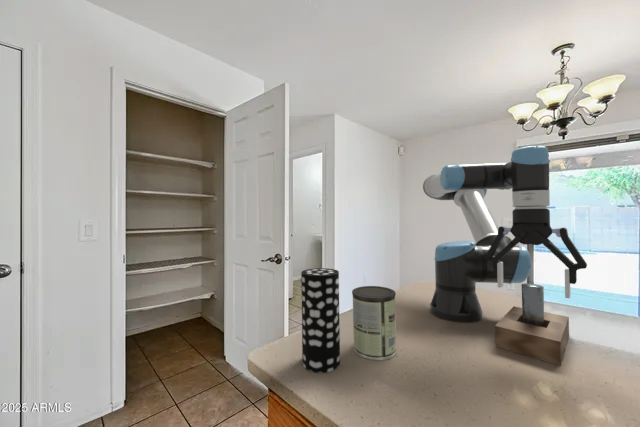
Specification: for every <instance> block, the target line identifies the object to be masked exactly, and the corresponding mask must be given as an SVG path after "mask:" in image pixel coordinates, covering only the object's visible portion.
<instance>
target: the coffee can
mask: <svg viewBox="0 0 640 427" xmlns="http://www.w3.org/2000/svg"><path fill="white" fill-rule="evenodd" d="M351 294H352V319H353V320H352V322H353V326H352V327H353V351H354V353H356V355H357V356H359V357H361V358H363V359H366V360H371V361H385V360H389V359H391V358H394V357H395V356H396V354H397V335H396V334H397V333H396V332H397V331H396V330H397V328H396V291H395V290H394V289H391V288H389V287H385V286H377V285H364V286H358V287H356V288H353V289H352V291H351Z"/></svg>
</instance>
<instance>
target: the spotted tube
mask: <svg viewBox="0 0 640 427" xmlns="http://www.w3.org/2000/svg"><path fill="white" fill-rule="evenodd" d="M300 276H301V278H300V279H301V281H300V282H301V328H302V329H301V340H302V341H301V345H302V346H301V348H302V349H301V350H302V352H301V353H302V357H301V358H302V366H303V368H305V369H306V370H308V371H310V372H312V373H318V374H321V373H322V374H323V373H325V374H326V373H331V372H333V371H334V370H336V369H338V367H339V366H340V364H341V344H340V342H341V336H340V335H341V333H340V329H341V328H340V326H341V324H340V272H339V270H338V269H333V268H323V267H321V268H320V267H319V268H307V269H304V270H302V271H301V275H300Z"/></svg>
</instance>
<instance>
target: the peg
mask: <svg viewBox="0 0 640 427" xmlns="http://www.w3.org/2000/svg"><path fill="white" fill-rule="evenodd" d="M544 291H545V289H544V286H543V285H541V284H536V283H527V282H526V283H521V308H522V323H527V324H531V325H536V326H540V327H544V312H545V302H544V301H545V297H544V296H545V294H544Z"/></svg>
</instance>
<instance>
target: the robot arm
mask: <svg viewBox="0 0 640 427" xmlns="http://www.w3.org/2000/svg"><path fill="white" fill-rule="evenodd" d="M550 161H551V160H550V158H549V149H548V147H546V146H544V145H530V146H524V147H519V148H516V149H514V150H513V151H512V152H511V157H510V161H508V162H497V163H496V162H493V163H489V162H488V163H478V164H477V163H475V164H457V163H454V164H449V165H445V166H443V167H442V169H441V171H440V173H437V174H431V175H430V176H428V177H427V178H426V179H425V180H424V181H423V183H422V190H423V192H424V194H425V195H426V196H427V197H429V198H431V199H434V200H437V201H438V200H439V201H453V202H454V204H455V206H457V207H459V208H460V210H461V211H462V214H463V216H464V219H465V221H466V223H467V226H468V227H469V230H470V233H471V235H472V238H473V240H474V241H472V240H464V241H463V240H462V241H460V240H458V241H457V240H456V241H449V242H444V243H440V244H438V245H436V247H435V249H434V268H435V271H434V272H435V289H434V291H433V292H434V293H433V295H432V298H431V302H430V305H429V306H430V307H429V309H430V314H432V315H434V316H435V317H437V318H440V319H442V320H446V321H449V322H450V321H451V322H457V323H477V322H480V321H481V320H482V319H483V318H484V317H483V309H482V306H481V303H480V301H479V298H478V296H477V295H478V294H477V290H476V283H483V284H484V283H488V284H490V283H491V284H497V287H498V288H503V287H504V284H507V285H511V284H523V283H524V282H525V281H527V279H528V278H529V276H530V273H531V267H532V259H531V254H530V251H529V250H528V249H527V247H526V246H524V245H534V246H539V245H543V246H544V247H546V249H547V250H549V251H550V253H552V254H553V255H554V256H555V257H556V258H557V259H558V260H559V261H560V262H561V263H562V264H563V265H565V269H564V298H565V299H570V298H571V284H572V285H575V284H577V271H579V270H582V269H583V270H584V269H586V268H587V266H588V264H587V262H586V260H585V259H584V257H583V256H582V254H581V253H580V251H579V250H578V248H577V247H576V246H575V244H574V243H573V241H572V240H571V237H569V233H568V232H569V231H568V229H567V228H566V226H565V227H564V226H563V227H560V228H552V227H551V213H550V212H551V211H550V209H549V208H547V207H549V206H550V199H551V198H550V197H551V196H550ZM488 190H503V191H504V190H511V197H512V200H511V201H512V202H511V203H512V204H511V205H512V207H513V208H514V209H512V226H510V227H508V226H503V225H501V226H499V225H498V224H497V222H496V219H495V218H494V216H493V213H492V212H491V211H490V208H489V207H488V205H487V203H486V201H485V199H484V198H485V197H486V195H487V191H488ZM509 233H511V234H512V236H513V237H514V238H513V239H512V238H510V237H509V236H508V234H509ZM552 234H555V236H556V237H558V238H561V241H562V243H563V244H564V245H565V247H566V248H567V250H568V251H569V253H570V254H571V256H572V257H573V259H574V261H575V262H576V263H574V262H573V261H572V260H571V259H570V258H569V257H568V256H567V255H565V253H564V252H562V251H561V250H560V249H559V247H557V246H556V245H555V244H554V243H553V242H552V241H551V239H549V237H551V235H552ZM519 243H520V244H522V245H520V244H519ZM518 244H519V245H518ZM566 267H567V268H566Z"/></svg>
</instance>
